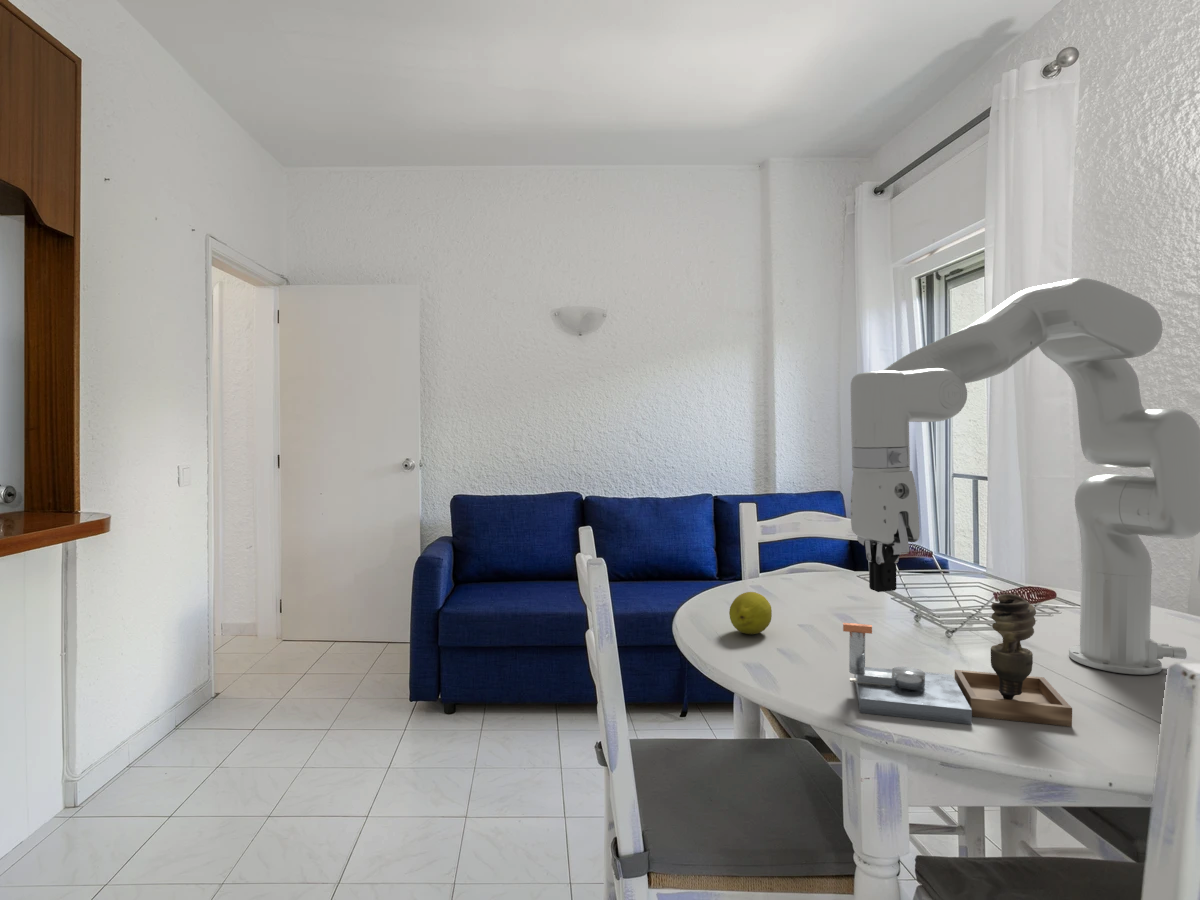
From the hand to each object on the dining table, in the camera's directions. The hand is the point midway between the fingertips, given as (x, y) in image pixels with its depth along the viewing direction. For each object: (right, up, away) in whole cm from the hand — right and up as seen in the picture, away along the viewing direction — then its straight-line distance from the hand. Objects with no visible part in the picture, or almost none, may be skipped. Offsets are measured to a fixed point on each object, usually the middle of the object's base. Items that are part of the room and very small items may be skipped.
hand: (882, 589), depth 99 cm
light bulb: (+19, -16, +1) cm, 25 cm away
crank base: (+5, -17, +3) cm, 18 cm away
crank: (+2, -14, +4) cm, 15 cm away
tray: (+18, -17, +1) cm, 25 cm away
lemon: (-11, -16, +36) cm, 41 cm away
